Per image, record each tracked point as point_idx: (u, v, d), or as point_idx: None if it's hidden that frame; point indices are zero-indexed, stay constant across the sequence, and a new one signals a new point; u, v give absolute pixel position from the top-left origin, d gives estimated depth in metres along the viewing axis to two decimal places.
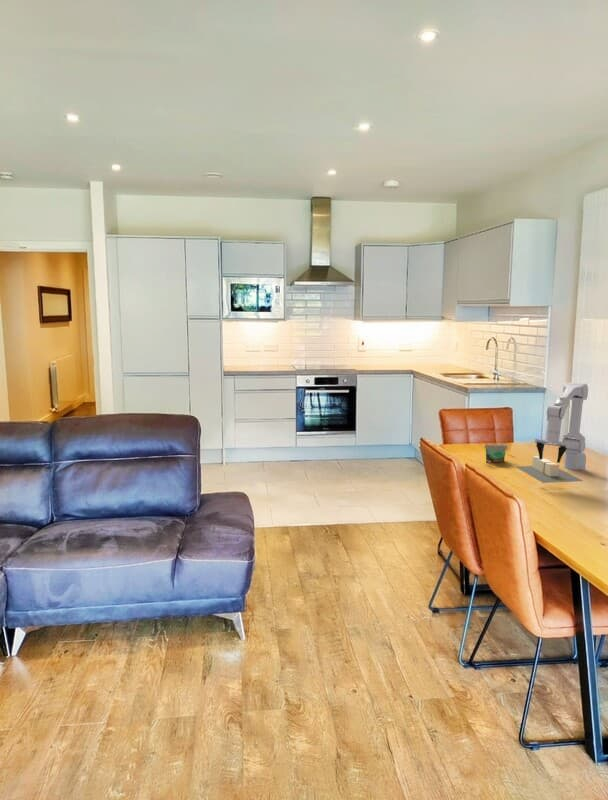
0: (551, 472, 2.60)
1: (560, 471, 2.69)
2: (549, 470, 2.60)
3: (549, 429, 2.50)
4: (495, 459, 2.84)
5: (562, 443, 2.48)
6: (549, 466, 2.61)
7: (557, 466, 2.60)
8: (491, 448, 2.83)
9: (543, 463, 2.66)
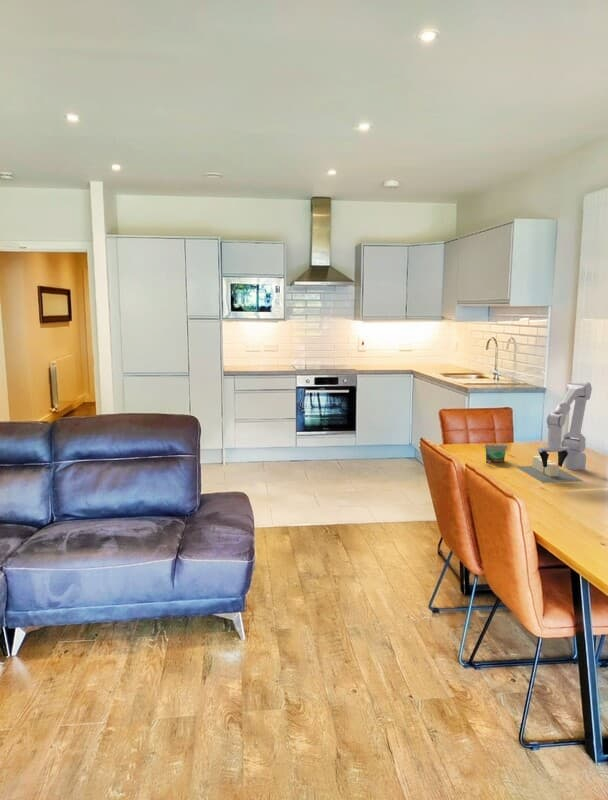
0: (551, 472, 2.60)
1: (560, 471, 2.69)
2: (549, 470, 2.60)
3: (550, 437, 2.58)
4: (495, 459, 2.84)
5: (565, 448, 2.59)
6: (549, 466, 2.61)
7: (557, 466, 2.60)
8: (491, 448, 2.83)
9: None
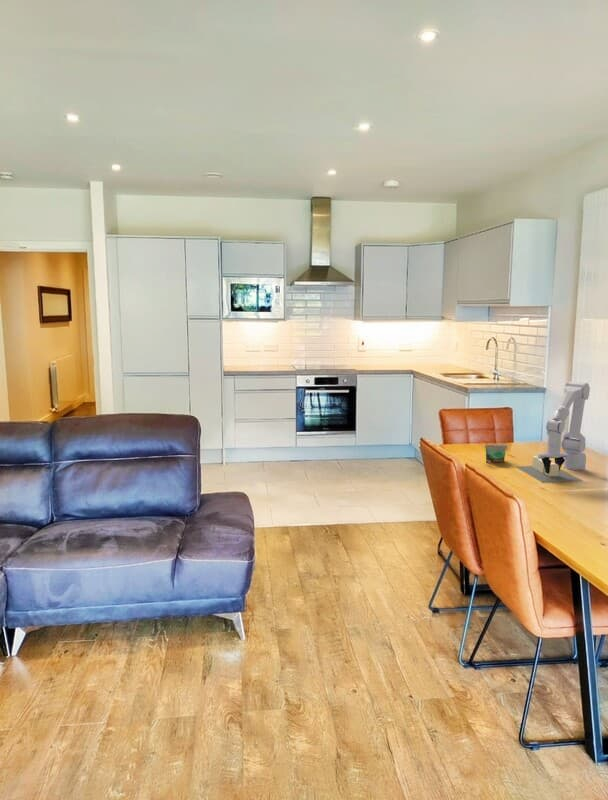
0: (551, 472, 2.60)
1: (560, 471, 2.69)
2: None
3: (549, 443, 2.59)
4: (495, 459, 2.84)
5: (564, 454, 2.60)
6: None
7: (557, 466, 2.60)
8: (491, 448, 2.83)
9: None
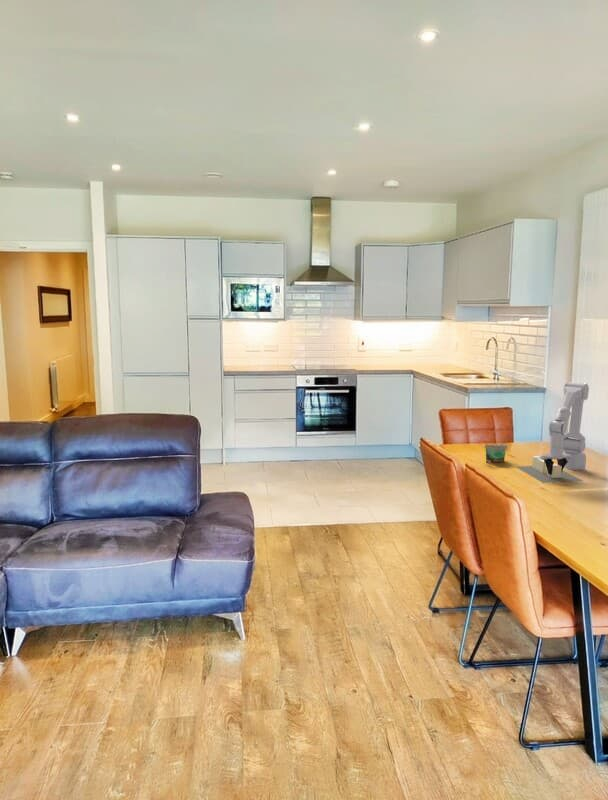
0: (554, 473, 2.58)
1: None
2: (552, 472, 2.58)
3: (552, 444, 2.56)
4: (495, 459, 2.84)
5: (567, 456, 2.58)
6: None
7: (560, 467, 2.58)
8: (491, 448, 2.83)
9: (543, 463, 2.66)
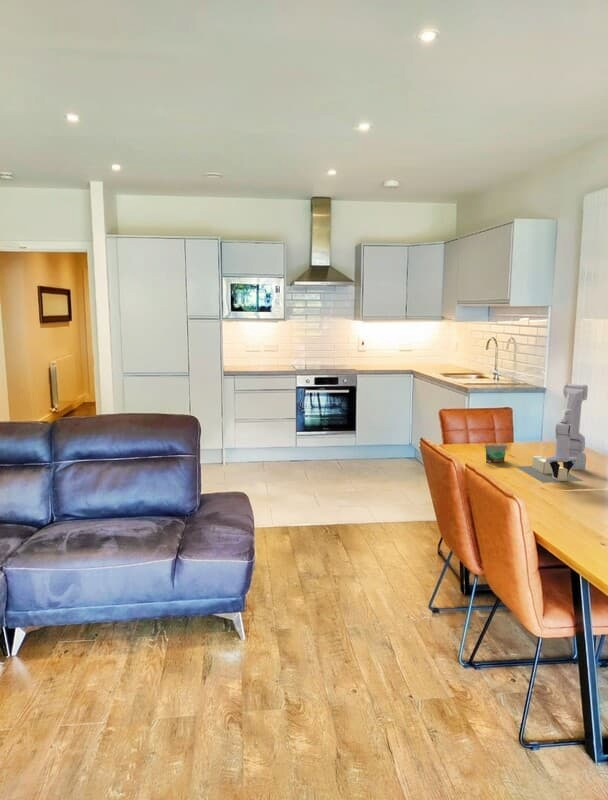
0: (559, 476, 2.53)
1: None
2: None
3: (559, 447, 2.51)
4: (495, 459, 2.84)
5: (573, 458, 2.53)
6: None
7: (565, 470, 2.53)
8: (491, 448, 2.83)
9: (543, 463, 2.66)
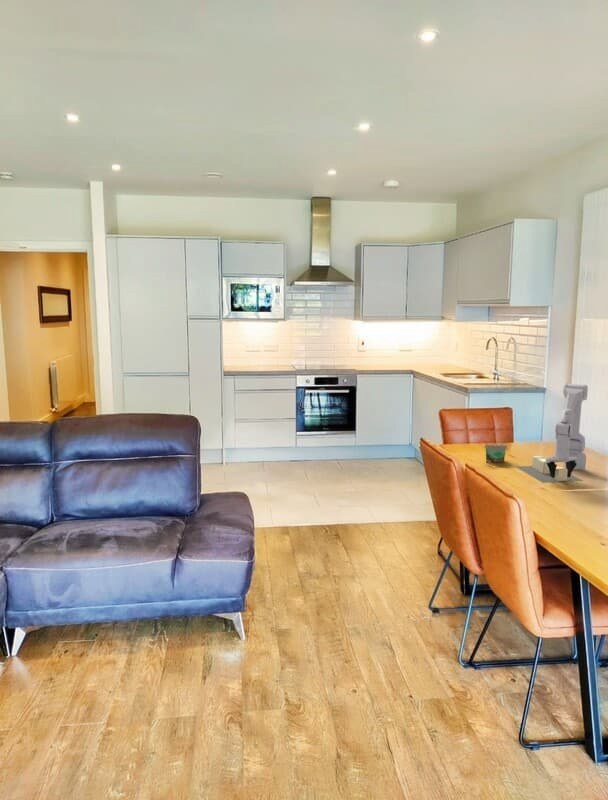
0: (559, 476, 2.53)
1: None
2: (557, 475, 2.54)
3: (559, 447, 2.51)
4: (495, 459, 2.84)
5: (573, 458, 2.53)
6: (557, 470, 2.54)
7: (565, 470, 2.53)
8: (491, 448, 2.83)
9: (543, 463, 2.66)
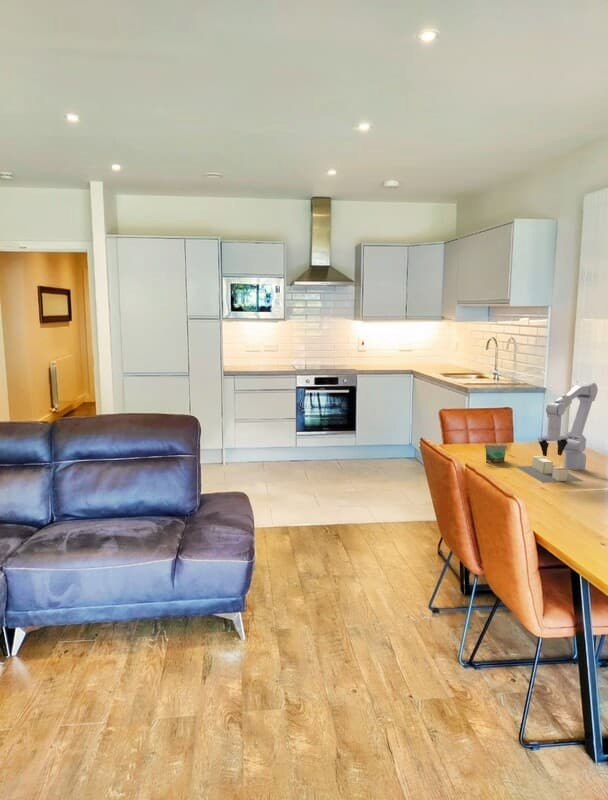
0: (559, 476, 2.53)
1: None
2: (557, 475, 2.54)
3: (549, 426, 2.61)
4: (495, 459, 2.84)
5: (564, 437, 2.62)
6: (557, 470, 2.54)
7: (565, 470, 2.53)
8: (491, 448, 2.83)
9: (543, 463, 2.66)
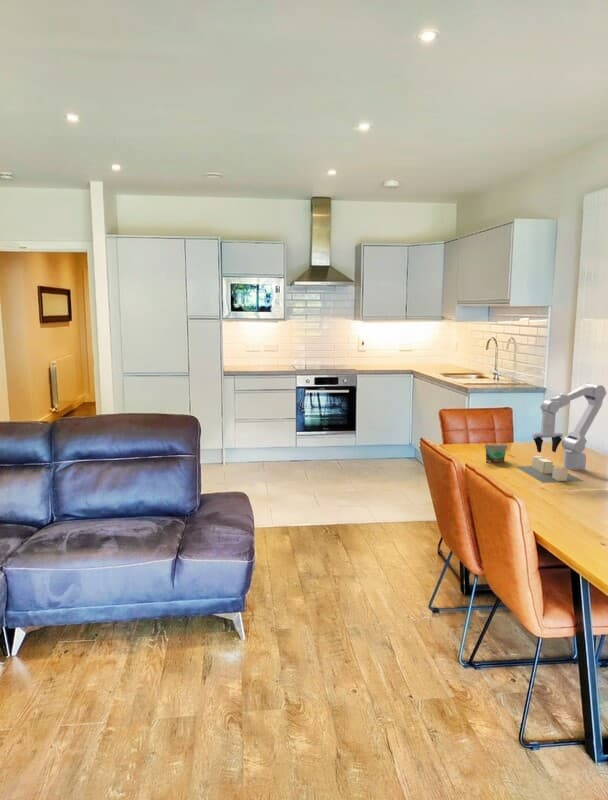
0: (559, 476, 2.53)
1: None
2: (557, 475, 2.54)
3: (542, 422, 2.68)
4: (495, 459, 2.84)
5: (558, 434, 2.68)
6: (557, 470, 2.54)
7: (565, 470, 2.53)
8: (491, 448, 2.83)
9: (543, 463, 2.66)
